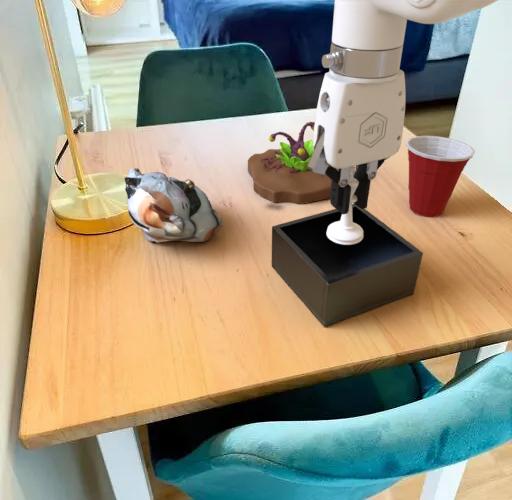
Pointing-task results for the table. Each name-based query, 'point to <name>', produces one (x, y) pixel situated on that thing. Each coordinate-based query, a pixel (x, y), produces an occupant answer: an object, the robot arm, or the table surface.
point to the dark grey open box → (344, 265)
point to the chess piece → (347, 220)
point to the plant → (288, 172)
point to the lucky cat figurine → (169, 208)
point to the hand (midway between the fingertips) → (348, 205)
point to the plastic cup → (434, 172)
